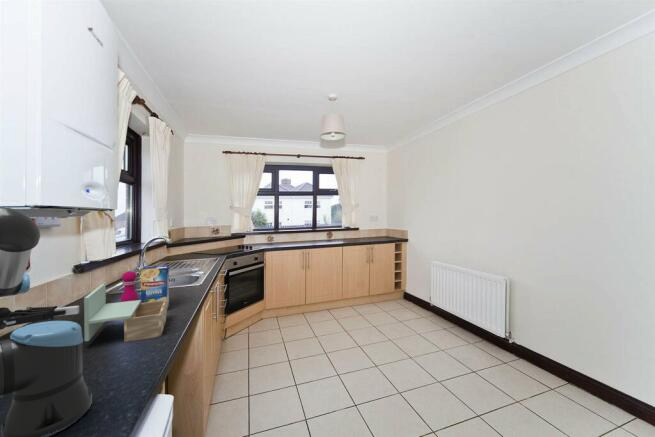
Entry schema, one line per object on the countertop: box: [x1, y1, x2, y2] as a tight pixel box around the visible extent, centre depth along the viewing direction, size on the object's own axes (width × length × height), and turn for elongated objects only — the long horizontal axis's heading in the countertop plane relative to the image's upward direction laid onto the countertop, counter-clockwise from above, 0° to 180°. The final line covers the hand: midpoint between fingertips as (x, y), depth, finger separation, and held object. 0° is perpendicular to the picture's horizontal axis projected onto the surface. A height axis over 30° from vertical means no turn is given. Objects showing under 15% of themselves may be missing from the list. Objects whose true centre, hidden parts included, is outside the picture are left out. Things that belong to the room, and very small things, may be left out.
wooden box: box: [123, 300, 167, 343], centre depth 110 cm, size 18×12×9 cm, turn 26°
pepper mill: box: [119, 268, 139, 302], centre depth 134 cm, size 7×7×20 cm
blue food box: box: [140, 264, 170, 312], centre depth 131 cm, size 7×11×22 cm, turn 115°
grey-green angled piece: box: [83, 283, 141, 342], centre depth 105 cm, size 19×14×16 cm
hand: (78, 309), depth 100 cm, fingers closed
